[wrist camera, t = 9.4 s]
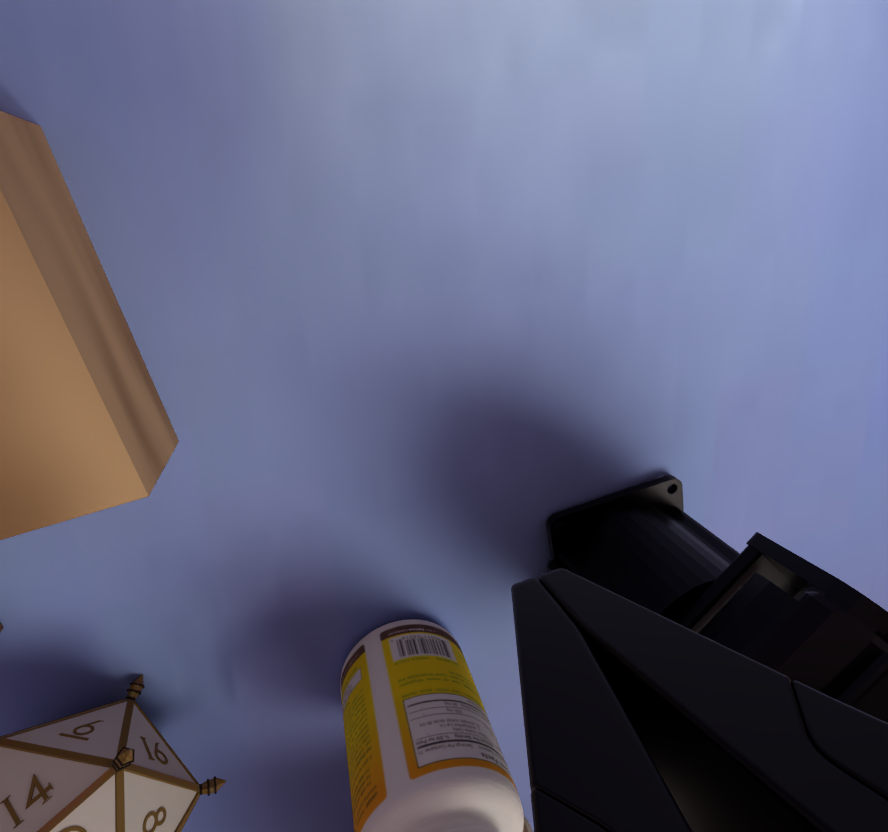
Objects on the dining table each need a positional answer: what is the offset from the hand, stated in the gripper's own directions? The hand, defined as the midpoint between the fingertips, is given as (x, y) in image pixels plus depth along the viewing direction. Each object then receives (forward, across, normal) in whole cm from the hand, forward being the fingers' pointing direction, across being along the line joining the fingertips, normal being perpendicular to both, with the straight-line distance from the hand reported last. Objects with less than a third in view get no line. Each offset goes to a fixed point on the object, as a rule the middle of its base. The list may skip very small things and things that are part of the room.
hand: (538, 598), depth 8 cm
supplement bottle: (+13, +3, +13) cm, 19 cm away
